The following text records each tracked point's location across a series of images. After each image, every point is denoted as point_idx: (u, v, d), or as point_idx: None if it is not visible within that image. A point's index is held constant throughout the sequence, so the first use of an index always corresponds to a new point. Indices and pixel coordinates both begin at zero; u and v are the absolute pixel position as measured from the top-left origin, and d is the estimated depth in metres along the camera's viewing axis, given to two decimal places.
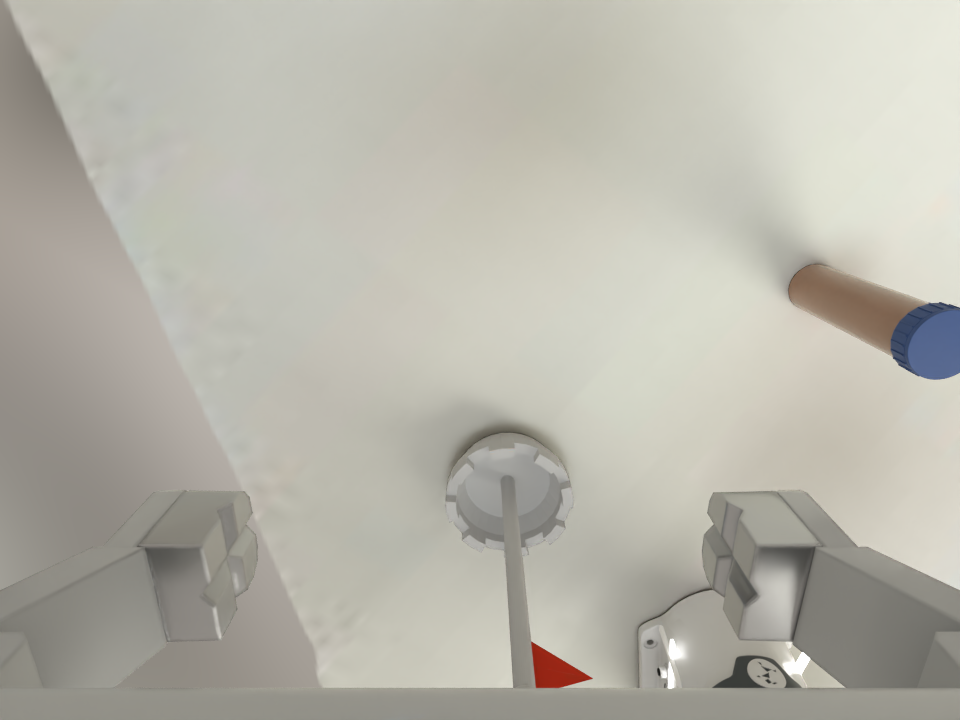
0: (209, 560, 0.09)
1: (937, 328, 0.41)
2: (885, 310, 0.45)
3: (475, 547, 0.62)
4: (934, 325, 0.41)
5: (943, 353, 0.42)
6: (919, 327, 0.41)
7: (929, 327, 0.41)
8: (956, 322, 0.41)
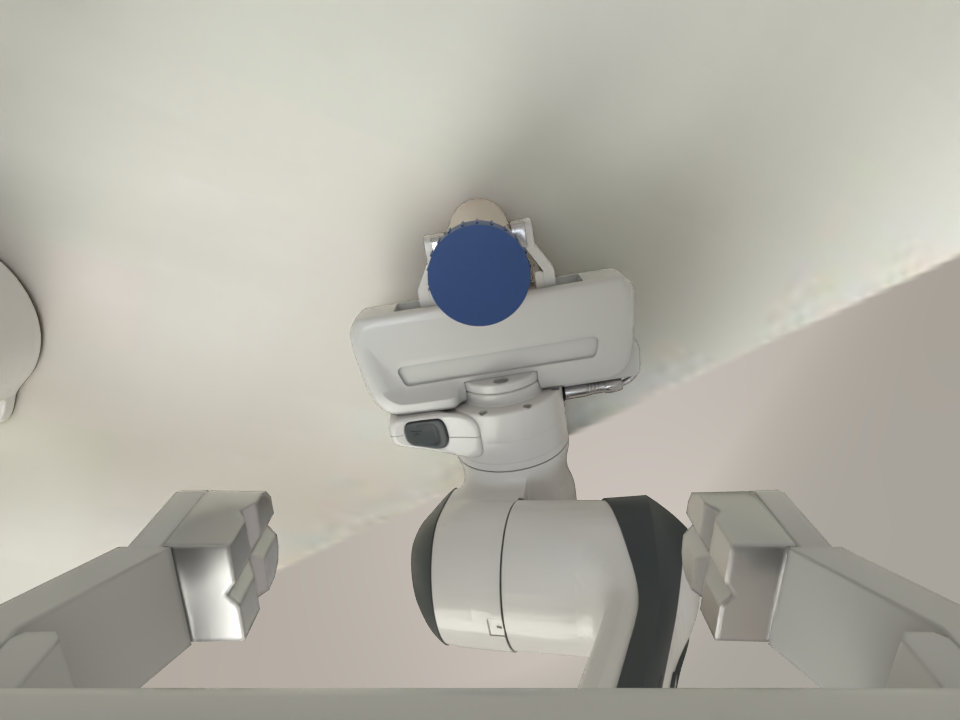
0: (235, 560, 0.09)
1: (498, 253, 0.29)
2: None
3: None
4: (501, 247, 0.29)
5: (467, 280, 0.30)
6: (494, 228, 0.29)
7: (497, 241, 0.29)
8: (512, 274, 0.30)
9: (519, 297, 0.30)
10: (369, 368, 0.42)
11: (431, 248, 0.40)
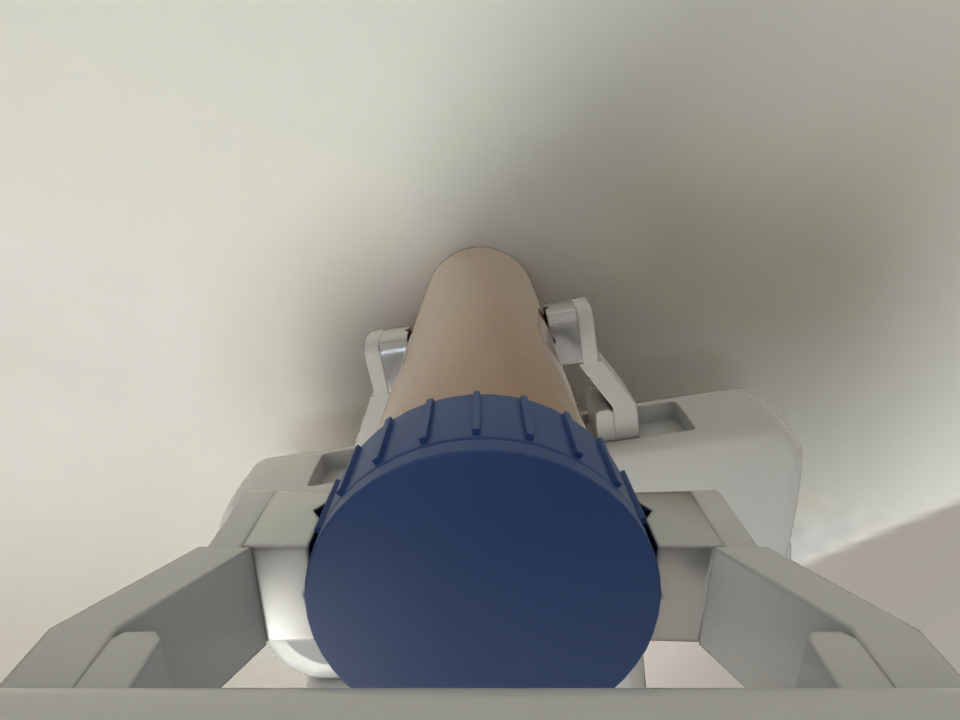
0: None
1: (554, 539, 0.08)
2: (526, 368, 0.12)
3: None
4: (566, 520, 0.08)
5: (443, 616, 0.09)
6: (539, 460, 0.08)
7: (549, 503, 0.08)
8: (600, 600, 0.09)
9: (618, 663, 0.09)
10: None
11: (380, 364, 0.19)
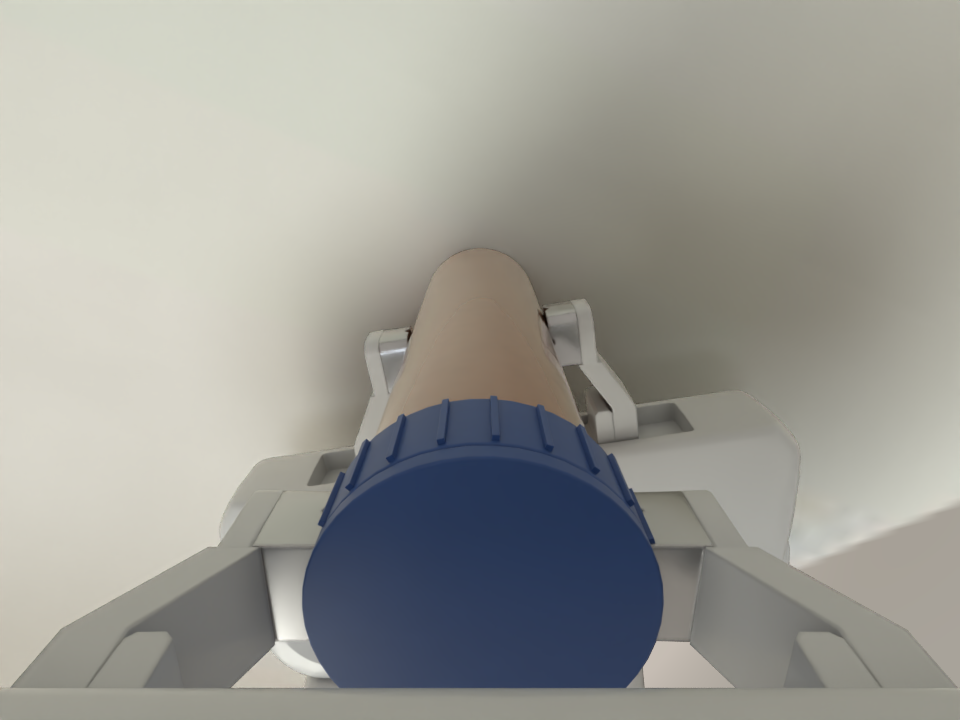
0: None
1: (443, 531, 0.08)
2: (526, 369, 0.12)
3: None
4: (428, 513, 0.08)
5: (471, 647, 0.09)
6: (353, 504, 0.08)
7: (401, 518, 0.08)
8: (537, 526, 0.08)
9: (625, 544, 0.08)
10: None
11: (380, 365, 0.19)
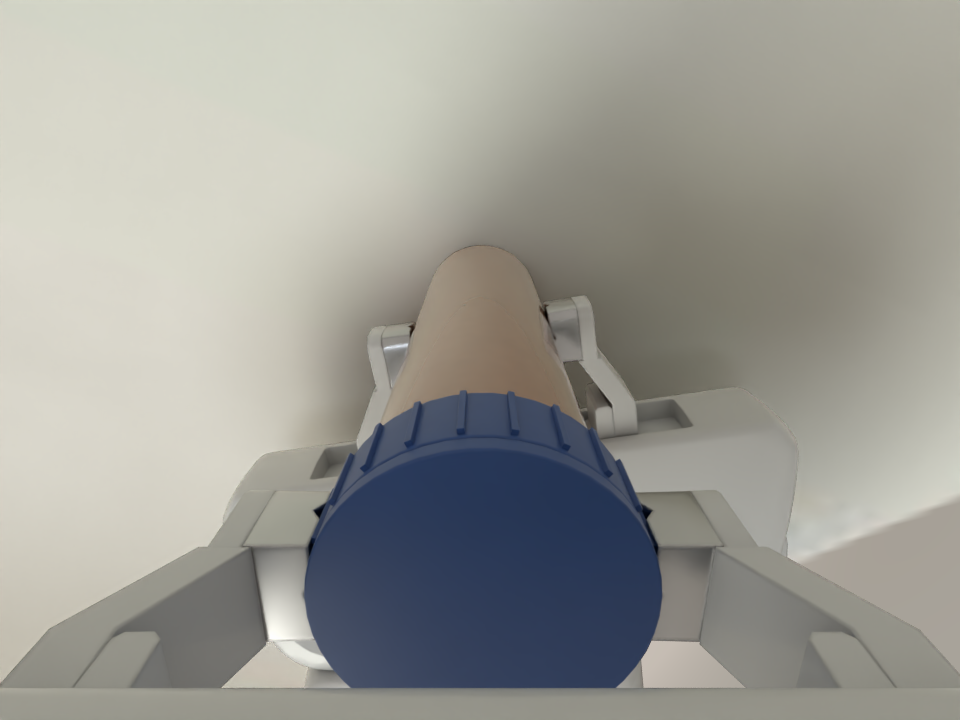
0: None
1: (376, 592, 0.08)
2: (526, 362, 0.12)
3: None
4: (352, 593, 0.08)
5: (510, 631, 0.09)
6: (316, 634, 0.09)
7: (346, 613, 0.09)
8: (412, 525, 0.08)
9: (475, 468, 0.08)
10: None
11: (383, 360, 0.19)
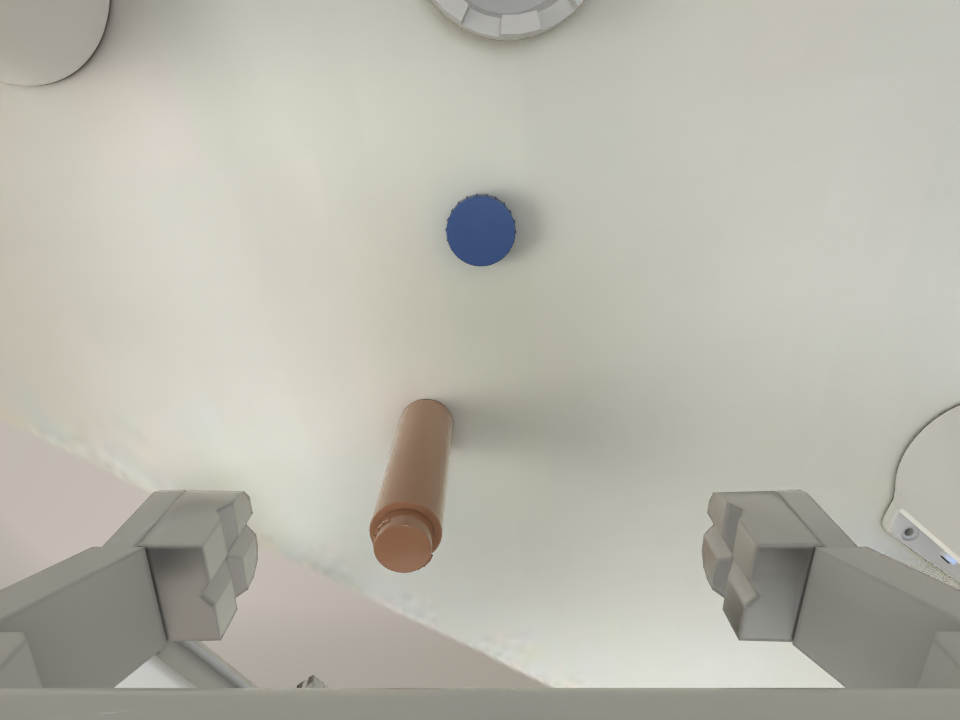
0: (209, 560, 0.09)
1: (460, 228, 0.44)
2: (443, 509, 0.39)
3: None
4: (456, 228, 0.44)
5: (486, 237, 0.45)
6: (448, 239, 0.45)
7: (454, 233, 0.44)
8: (468, 212, 0.44)
9: (479, 200, 0.44)
10: None
11: None
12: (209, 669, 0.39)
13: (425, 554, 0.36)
